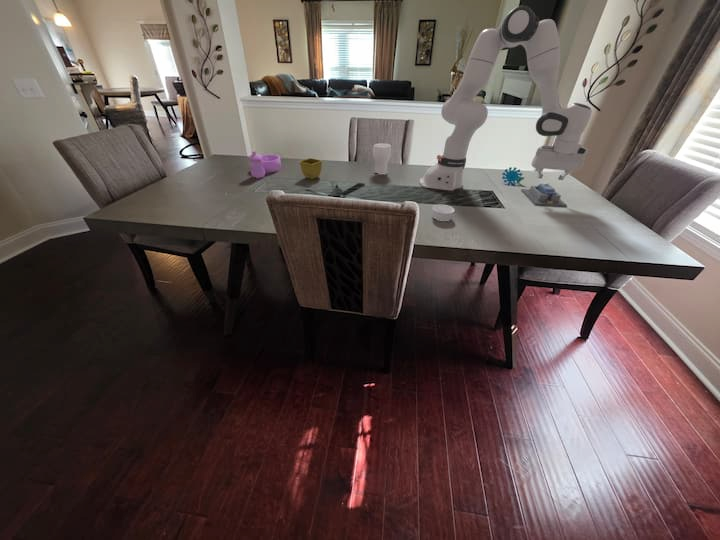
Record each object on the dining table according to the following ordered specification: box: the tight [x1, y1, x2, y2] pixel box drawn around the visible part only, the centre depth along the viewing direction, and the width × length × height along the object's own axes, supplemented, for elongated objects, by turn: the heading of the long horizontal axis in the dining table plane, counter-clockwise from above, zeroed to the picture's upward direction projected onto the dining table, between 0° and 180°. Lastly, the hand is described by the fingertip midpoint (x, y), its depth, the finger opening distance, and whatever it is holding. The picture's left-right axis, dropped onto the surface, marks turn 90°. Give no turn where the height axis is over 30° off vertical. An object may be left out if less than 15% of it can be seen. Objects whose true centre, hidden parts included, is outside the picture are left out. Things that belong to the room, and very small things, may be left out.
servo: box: [537, 182, 556, 200], centre depth 134 cm, size 4×10×6 cm, turn 174°
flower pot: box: [299, 157, 323, 180], centre depth 153 cm, size 9×9×9 cm
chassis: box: [520, 185, 568, 208], centre depth 135 cm, size 14×18×4 cm
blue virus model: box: [501, 166, 525, 186], centre depth 153 cm, size 11×6×10 cm
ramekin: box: [431, 204, 455, 221], centre depth 117 cm, size 9×9×4 cm
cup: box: [372, 142, 393, 175], centre depth 159 cm, size 11×11×15 cm
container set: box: [248, 150, 282, 179], centre depth 159 cm, size 25×15×13 cm, turn 173°
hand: (549, 178), depth 130 cm, fingers open, 8 cm apart
